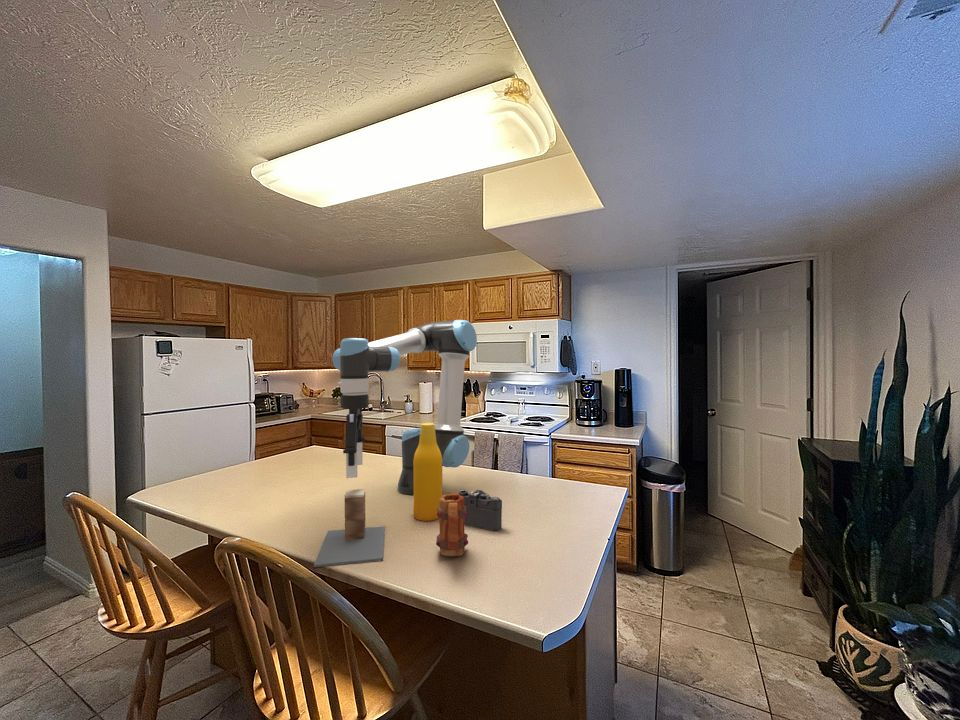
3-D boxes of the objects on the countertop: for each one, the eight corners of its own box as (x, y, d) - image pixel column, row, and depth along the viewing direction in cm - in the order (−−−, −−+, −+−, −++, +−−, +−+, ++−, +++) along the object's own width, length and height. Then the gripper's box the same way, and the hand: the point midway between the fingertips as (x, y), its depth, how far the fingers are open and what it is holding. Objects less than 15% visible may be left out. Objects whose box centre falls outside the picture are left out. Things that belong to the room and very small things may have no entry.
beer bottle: (407, 518, 127) (407, 425, 127) (422, 508, 135) (422, 421, 135) (434, 523, 123) (433, 427, 123) (447, 512, 132) (447, 422, 132)
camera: (511, 519, 126) (511, 487, 126) (497, 533, 116) (497, 498, 116) (470, 512, 132) (470, 481, 132) (453, 524, 123) (453, 491, 123)
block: (365, 531, 116) (365, 488, 116) (363, 538, 112) (363, 494, 112) (347, 532, 115) (346, 490, 115) (344, 540, 111) (344, 495, 111)
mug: (436, 545, 109) (436, 488, 109) (467, 543, 109) (466, 487, 109) (435, 573, 94) (434, 508, 94) (470, 571, 95) (470, 507, 95)
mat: (385, 527, 120) (385, 525, 120) (382, 560, 100) (382, 558, 100) (328, 532, 117) (328, 530, 117) (313, 567, 97) (313, 564, 97)
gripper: (346, 390, 125) (347, 460, 125) (332, 398, 101) (333, 484, 101) (372, 390, 126) (372, 459, 126) (364, 397, 102) (364, 482, 102)
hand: (354, 470), depth 114 cm, fingers open, 12 cm apart
